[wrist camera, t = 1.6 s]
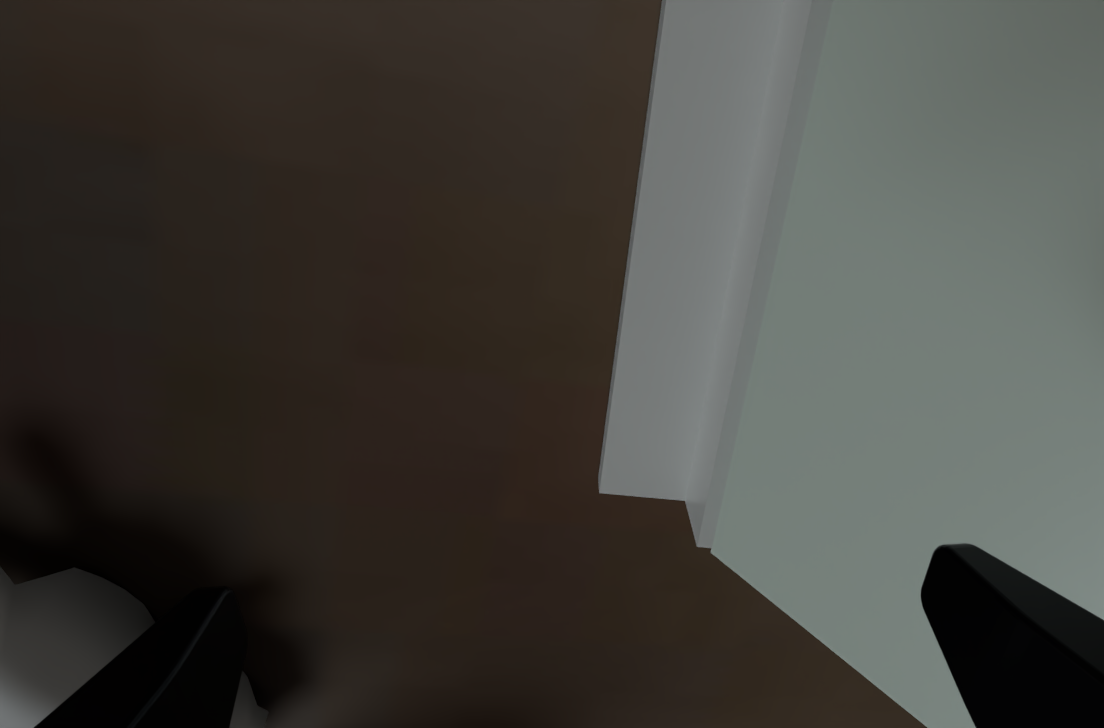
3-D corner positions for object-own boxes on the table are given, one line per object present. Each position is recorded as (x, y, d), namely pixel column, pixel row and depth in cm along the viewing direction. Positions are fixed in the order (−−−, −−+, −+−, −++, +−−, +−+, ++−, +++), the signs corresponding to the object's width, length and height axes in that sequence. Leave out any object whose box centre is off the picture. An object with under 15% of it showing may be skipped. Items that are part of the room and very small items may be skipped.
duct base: (1294, -59, 18) (1454, -88, 14) (1037, 517, 25) (1107, 583, 22) (678, -119, 18) (701, -161, 14) (598, 477, 25) (601, 537, 21)
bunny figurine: (149, 860, 28) (-269, 703, 23) (199, 741, 33) (-139, 586, 27) (287, 753, 25) (-152, 543, 20) (321, 638, 30) (-29, 442, 24)
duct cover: (1810, -269, 7) (1825, -306, 6) (1110, 831, 14) (1089, 859, 13) (889, -118, 14) (861, -129, 14) (733, 542, 21) (710, 552, 20)
